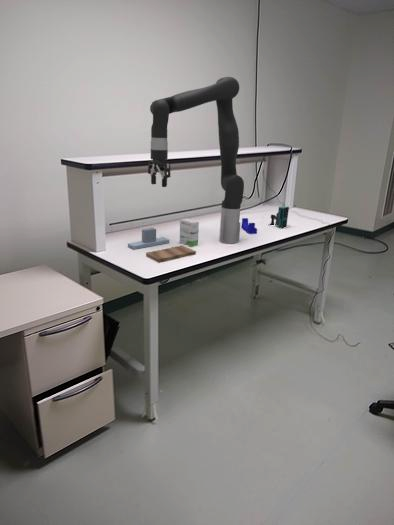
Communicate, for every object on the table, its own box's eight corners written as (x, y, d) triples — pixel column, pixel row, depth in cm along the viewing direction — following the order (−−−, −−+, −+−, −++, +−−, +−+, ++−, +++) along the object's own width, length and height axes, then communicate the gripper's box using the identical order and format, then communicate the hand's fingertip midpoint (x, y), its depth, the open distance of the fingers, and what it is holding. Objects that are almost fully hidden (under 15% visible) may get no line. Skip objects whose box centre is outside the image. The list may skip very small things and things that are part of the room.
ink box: (198, 245, 194) (199, 221, 190) (191, 247, 190) (192, 222, 186) (186, 241, 199) (186, 217, 195) (178, 242, 196) (179, 219, 192)
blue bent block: (256, 234, 217) (257, 223, 215) (248, 234, 216) (249, 223, 214) (248, 228, 228) (249, 218, 226) (241, 228, 227) (242, 218, 225)
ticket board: (182, 248, 187) (182, 245, 187) (195, 254, 180) (196, 250, 180) (146, 256, 175) (146, 252, 175) (159, 262, 168) (159, 258, 168)
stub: (163, 239, 198) (163, 225, 196) (169, 242, 195) (169, 227, 192) (127, 246, 186) (127, 230, 184) (133, 249, 183) (133, 233, 180)
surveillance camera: (274, 203, 236) (289, 206, 230) (272, 223, 240) (286, 227, 234) (269, 204, 232) (284, 208, 226) (267, 225, 236) (281, 228, 230)
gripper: (175, 149, 174) (174, 187, 179) (157, 147, 184) (156, 182, 190) (161, 150, 169) (161, 188, 175) (143, 147, 179) (143, 183, 185)
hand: (158, 185), depth 182 cm, fingers open, 8 cm apart
